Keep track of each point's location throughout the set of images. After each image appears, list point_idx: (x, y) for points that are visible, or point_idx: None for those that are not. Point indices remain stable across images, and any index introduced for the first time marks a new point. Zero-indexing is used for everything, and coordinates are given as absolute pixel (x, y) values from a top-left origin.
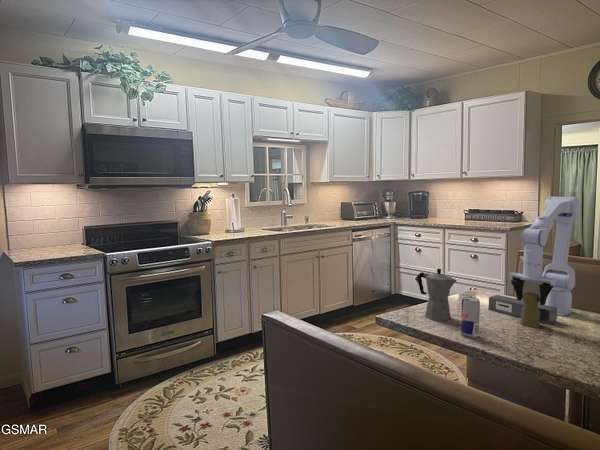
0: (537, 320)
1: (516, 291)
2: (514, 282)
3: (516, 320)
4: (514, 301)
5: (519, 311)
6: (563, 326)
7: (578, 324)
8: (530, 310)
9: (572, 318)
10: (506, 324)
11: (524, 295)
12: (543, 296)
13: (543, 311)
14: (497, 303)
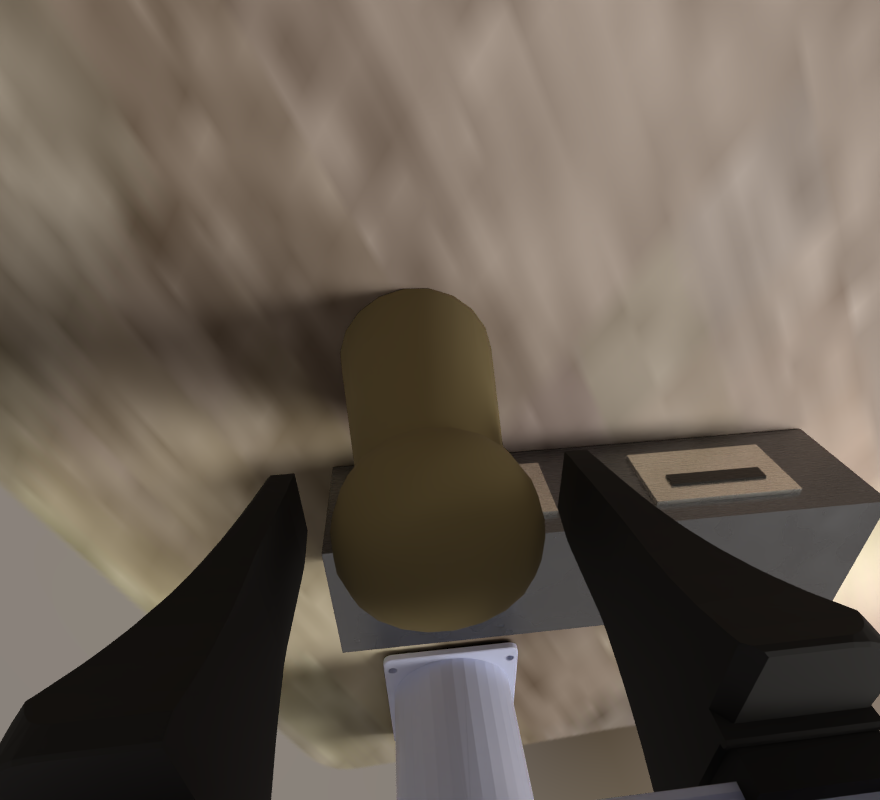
0: (344, 381)
1: (650, 517)
2: (790, 626)
3: (536, 365)
4: None
5: None
6: None
7: None
8: (389, 383)
9: (334, 660)
10: (545, 177)
11: (503, 493)
12: (201, 562)
13: None
14: (775, 477)
